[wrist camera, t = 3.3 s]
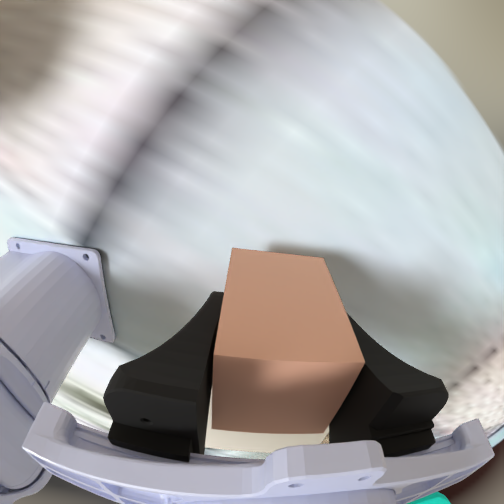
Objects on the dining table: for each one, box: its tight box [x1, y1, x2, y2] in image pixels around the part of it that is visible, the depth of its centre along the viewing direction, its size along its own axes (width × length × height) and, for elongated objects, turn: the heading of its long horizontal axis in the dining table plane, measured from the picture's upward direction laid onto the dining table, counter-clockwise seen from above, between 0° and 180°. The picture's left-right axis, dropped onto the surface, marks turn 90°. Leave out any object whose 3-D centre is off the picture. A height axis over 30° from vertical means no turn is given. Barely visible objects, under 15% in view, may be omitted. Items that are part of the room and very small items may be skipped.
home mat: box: [205, 390, 329, 453], centre depth 23 cm, size 14×18×1 cm
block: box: [211, 248, 365, 434], centre depth 12 cm, size 4×4×7 cm
